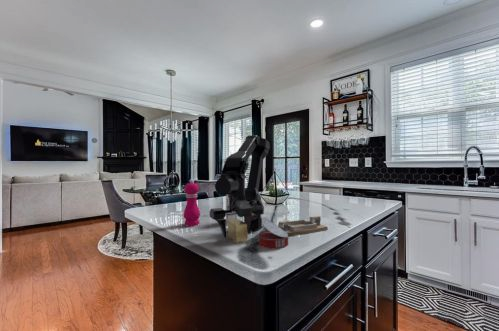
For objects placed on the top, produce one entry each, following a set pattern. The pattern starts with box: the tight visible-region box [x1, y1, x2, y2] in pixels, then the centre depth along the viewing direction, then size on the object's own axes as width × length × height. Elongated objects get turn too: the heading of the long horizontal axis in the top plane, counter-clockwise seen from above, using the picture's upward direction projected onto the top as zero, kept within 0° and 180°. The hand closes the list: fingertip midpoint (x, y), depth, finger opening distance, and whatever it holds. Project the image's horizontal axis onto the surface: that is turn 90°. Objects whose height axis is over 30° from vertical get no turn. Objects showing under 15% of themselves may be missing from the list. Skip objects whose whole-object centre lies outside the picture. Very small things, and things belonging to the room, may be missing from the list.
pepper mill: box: [182, 178, 201, 227], centre depth 107 cm, size 7×7×20 cm
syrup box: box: [225, 195, 244, 223], centre depth 111 cm, size 6×6×14 cm
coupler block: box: [227, 219, 248, 244], centre depth 86 cm, size 4×8×6 cm, turn 25°
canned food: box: [258, 216, 289, 250], centre depth 81 cm, size 11×10×10 cm
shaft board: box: [277, 215, 329, 237], centre depth 97 cm, size 10×20×4 cm, turn 115°
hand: (237, 235), depth 86 cm, fingers open, 9 cm apart
